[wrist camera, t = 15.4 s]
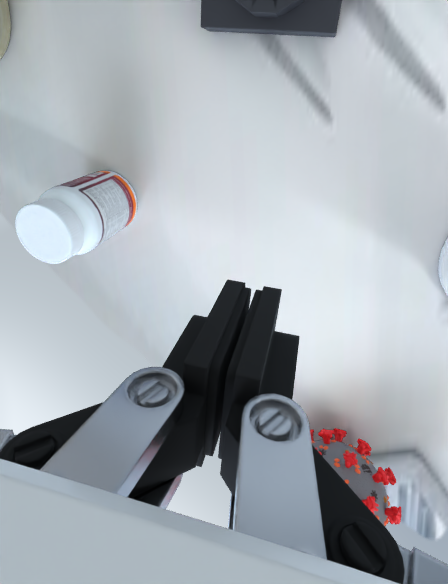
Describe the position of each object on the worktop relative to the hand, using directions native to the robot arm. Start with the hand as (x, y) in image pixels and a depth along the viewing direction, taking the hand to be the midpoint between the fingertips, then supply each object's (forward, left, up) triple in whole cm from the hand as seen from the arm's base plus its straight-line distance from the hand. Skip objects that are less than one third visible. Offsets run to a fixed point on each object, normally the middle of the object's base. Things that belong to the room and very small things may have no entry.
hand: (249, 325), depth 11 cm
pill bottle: (+19, +5, -25) cm, 32 cm away
